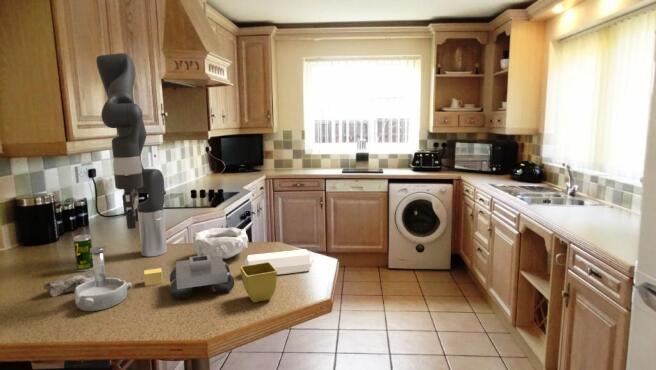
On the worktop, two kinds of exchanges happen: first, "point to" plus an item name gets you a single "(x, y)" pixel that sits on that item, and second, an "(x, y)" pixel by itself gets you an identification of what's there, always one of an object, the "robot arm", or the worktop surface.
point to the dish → (101, 294)
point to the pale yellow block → (153, 277)
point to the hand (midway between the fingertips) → (133, 224)
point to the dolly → (200, 276)
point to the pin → (98, 265)
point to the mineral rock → (67, 284)
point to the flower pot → (259, 281)
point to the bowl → (220, 242)
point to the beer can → (83, 252)
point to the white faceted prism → (283, 260)
